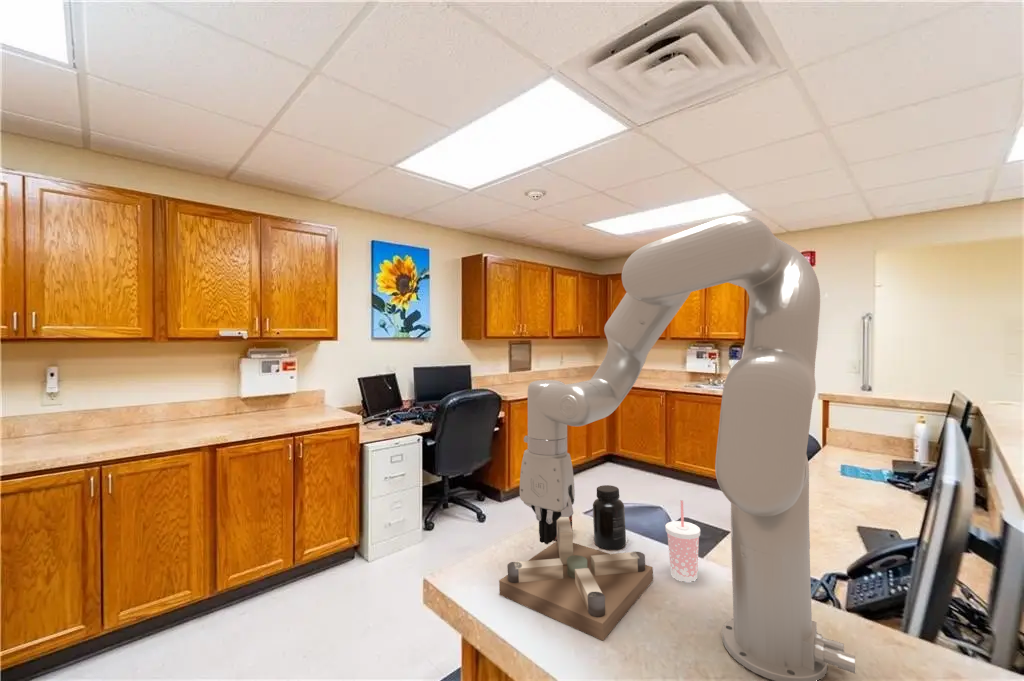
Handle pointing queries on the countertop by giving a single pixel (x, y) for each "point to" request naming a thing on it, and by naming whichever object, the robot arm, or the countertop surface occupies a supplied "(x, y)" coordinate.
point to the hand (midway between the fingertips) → (547, 540)
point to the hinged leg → (564, 539)
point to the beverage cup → (683, 548)
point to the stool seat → (579, 586)
